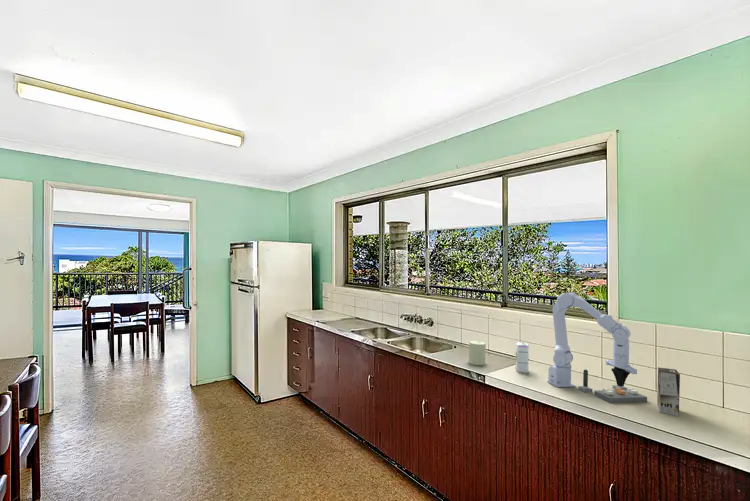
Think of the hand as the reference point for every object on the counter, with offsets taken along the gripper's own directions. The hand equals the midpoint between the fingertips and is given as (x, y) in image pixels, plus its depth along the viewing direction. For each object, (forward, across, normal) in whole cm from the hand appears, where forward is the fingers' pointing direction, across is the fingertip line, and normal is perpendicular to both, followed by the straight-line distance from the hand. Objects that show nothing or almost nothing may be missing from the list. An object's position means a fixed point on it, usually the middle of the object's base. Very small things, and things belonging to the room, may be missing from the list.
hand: (620, 385), depth 164 cm
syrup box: (+6, +41, +22) cm, 47 cm away
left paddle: (+2, 0, +6) cm, 6 cm away
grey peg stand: (+6, +10, +9) cm, 15 cm away
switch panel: (+5, 0, 0) cm, 5 cm away
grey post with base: (+6, +10, -9) cm, 15 cm away
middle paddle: (+2, 0, 0) cm, 2 cm away
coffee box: (+6, -14, -9) cm, 18 cm away
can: (+6, +57, +40) cm, 70 cm away
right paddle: (+2, 0, -6) cm, 6 cm away
